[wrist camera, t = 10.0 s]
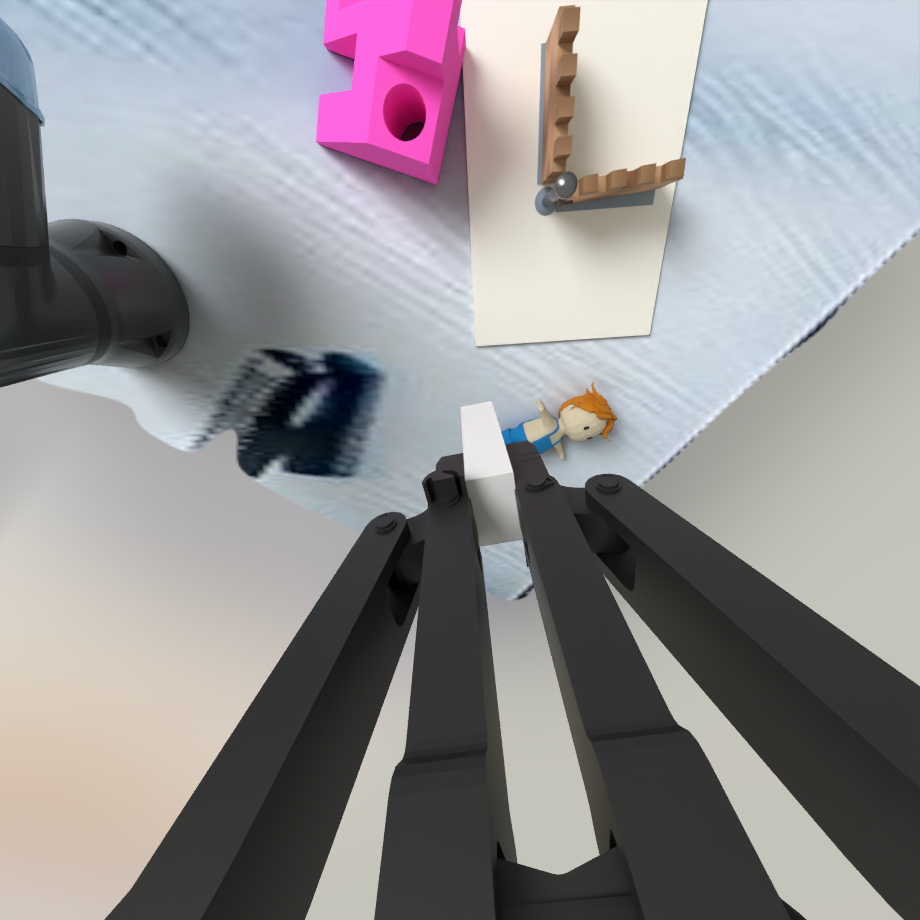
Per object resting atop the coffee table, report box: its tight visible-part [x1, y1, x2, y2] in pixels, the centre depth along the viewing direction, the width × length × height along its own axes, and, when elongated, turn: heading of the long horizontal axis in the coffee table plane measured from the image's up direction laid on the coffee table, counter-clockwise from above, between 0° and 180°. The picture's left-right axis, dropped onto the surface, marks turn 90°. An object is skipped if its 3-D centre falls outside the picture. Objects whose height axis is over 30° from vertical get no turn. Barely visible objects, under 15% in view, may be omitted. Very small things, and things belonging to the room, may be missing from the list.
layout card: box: [460, 0, 708, 346], centre depth 37 cm, size 21×29×1 cm
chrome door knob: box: [542, 171, 578, 207], centre depth 33 cm, size 2×2×8 cm
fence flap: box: [557, 158, 686, 208], centre depth 33 cm, size 10×2×7 cm, turn 98°
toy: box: [501, 381, 617, 459], centre depth 47 cm, size 12×6×15 cm
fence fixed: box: [541, 5, 581, 184], centre depth 31 cm, size 10×1×7 cm, turn 4°
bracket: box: [316, 0, 466, 185], centre depth 29 cm, size 12×10×10 cm
